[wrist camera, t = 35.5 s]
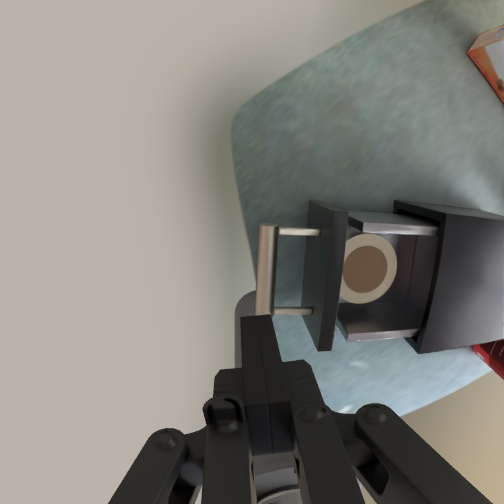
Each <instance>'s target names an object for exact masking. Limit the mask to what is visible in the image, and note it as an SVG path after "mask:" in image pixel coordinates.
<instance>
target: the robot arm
mask: <svg viewBox="0 0 504 504" xmlns="http://www.w3.org/2000/svg"><path fill="white" fill-rule="evenodd" d="M240 321H241V348H242V368H234V369H222V370H220V371H219V372H218V373H217V375H216V376H215V380H214V391H213V392H214V393H213V398H211V399H209V400H208V401H207V402H206V403H205V404H204V406H203V413H204V417H205V420H206V424H207V425H206V426H205V427H204V428H203V429H201V430H199V431H196V432H193V433H190V434H185V435H184V434H183V433H182V432H181V431H180V430H177V429H174V428H165V429H161V430H158V431H156V432H154V433H153V434H152V435H151V436H150V437H149V438H148V440H147V441H146V443H145V445H144V447H143V448H142V450H141V451H140V453H139V455H138V456H137V458H136V460H135V461H134V463H133V464H132V466H131V468H130V469H129V471H128V472H127V474H126V476H125V477H124V479H123V480H122V482H121V484H120V485H119V487H118V488H117V490H116V492H115V493H114V495H113V496H112V498H111V500H110V501H109V503H108V504H195V501H196V499H197V497H198V494H199V491H200V489H201V486H202V499H201V504H365V501H364V499H363V496H362V493H361V490H360V487H359V484H358V482H357V479H356V477H357V478H358V480H359V481H360V482H361V483H362V485H363V486H364V487H365V489H366V490H367V491H368V493H369V494H370V495H371V497H372V498H373V499H374V500H375V502H376V503H377V504H493V503H491V502H490V501H489V500H488V499H487V498H486V497H485V496H484V495H483V494H481V492H479V491H478V490H477V489H476V488H475V487H474V486H473V485H472V484H471V483H470V482H468V481H467V480H466V479H465V478H464V477H463V476H462V475H461V474H460V473H459V472H458V471H457V470H455V469H454V468H453V467H452V466H451V465H450V464H449V463H448V462H447V461H446V460H445V459H444V458H443V457H441V456H440V455H439V454H438V453H437V452H436V451H435V450H434V449H433V448H432V447H431V446H430V445H429V444H428V443H426V442H425V441H424V440H423V439H422V438H421V437H420V436H419V435H418V434H417V433H416V432H415V431H414V430H413V429H412V428H410V427H409V426H408V425H407V424H406V423H405V422H404V421H403V420H402V419H401V418H400V417H399V416H398V415H397V414H396V413H395V412H394V411H393V410H392V409H390V408H389V407H387V406H386V405H383V404H379V403H371V404H367V405H364V406H363V407H361V408H359V410H358V411H357V412H356V414H343V413H337V412H334V411H332V410H331V409H330V408H329V407H328V406H326V405H325V403H324V401H323V398H322V395H321V393H320V390H319V387H318V384H317V382H316V379H315V376H314V374H313V371H312V368H311V365H309V364H308V363H307V362H306V361H305V360H296V361H289V362H282V360H281V356H280V351H279V347H278V343H277V339H276V334H275V330H274V326H273V322H272V317H271V314H265V315H256V316H246V317H240ZM291 451H294V473H296V474H297V479H298V484H297V485H290V486H285V487H281V488H277V489H274V490H271V491H269V492H266V493H264V494H263V495H261V496H259V497H258V498H256V486H255V473H254V464H253V457H252V456H258V455H268V454H276V453H284V452H291Z"/></svg>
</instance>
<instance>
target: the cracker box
mask: <svg viewBox="0 0 504 504" xmlns="http://www.w3.org/2000/svg"><path fill="white" fill-rule="evenodd" d="M467 54H468V55H469V57H470V58H471V59H472V60H473V62H474V63H475V64H476V65H477V67H478V68H479V69H480V71H481V72H482V73H483V75H484V76H485V77H486V79H487V80H488V82H489V83H490V84H491V86H492V87H493V89H494V90H495V91H496V93H497V94H498V96H499V97H500V99H501V101H502V102H503V104H504V25H502V26H499V27H497V28H494V29H492V30H489V31H487V32H484V33H482V34H480V35H479V36H478V38H477V39H476V41H475V42H474V43H473V45H472V46H471V48H470V49H469V50H468V52H467Z"/></svg>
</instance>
